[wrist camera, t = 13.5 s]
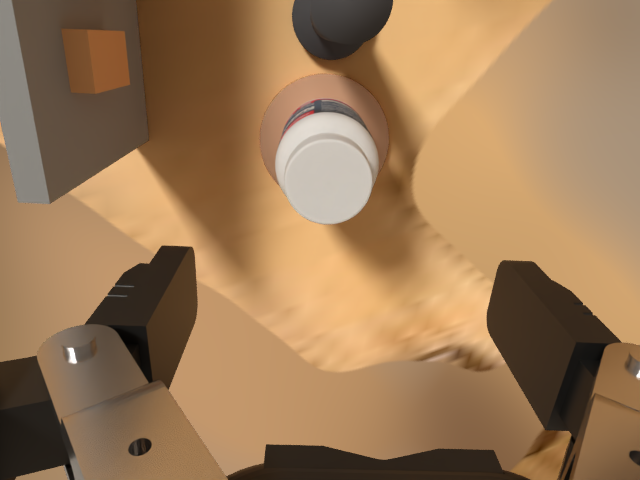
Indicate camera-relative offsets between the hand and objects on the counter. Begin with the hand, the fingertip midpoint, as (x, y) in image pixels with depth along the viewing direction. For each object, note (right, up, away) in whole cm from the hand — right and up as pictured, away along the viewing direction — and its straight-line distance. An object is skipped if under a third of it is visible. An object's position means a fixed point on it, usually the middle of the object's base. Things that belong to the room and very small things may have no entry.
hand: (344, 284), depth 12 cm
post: (0, +14, +14) cm, 20 cm away
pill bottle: (0, +7, +17) cm, 18 cm away
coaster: (0, +7, +17) cm, 18 cm away
